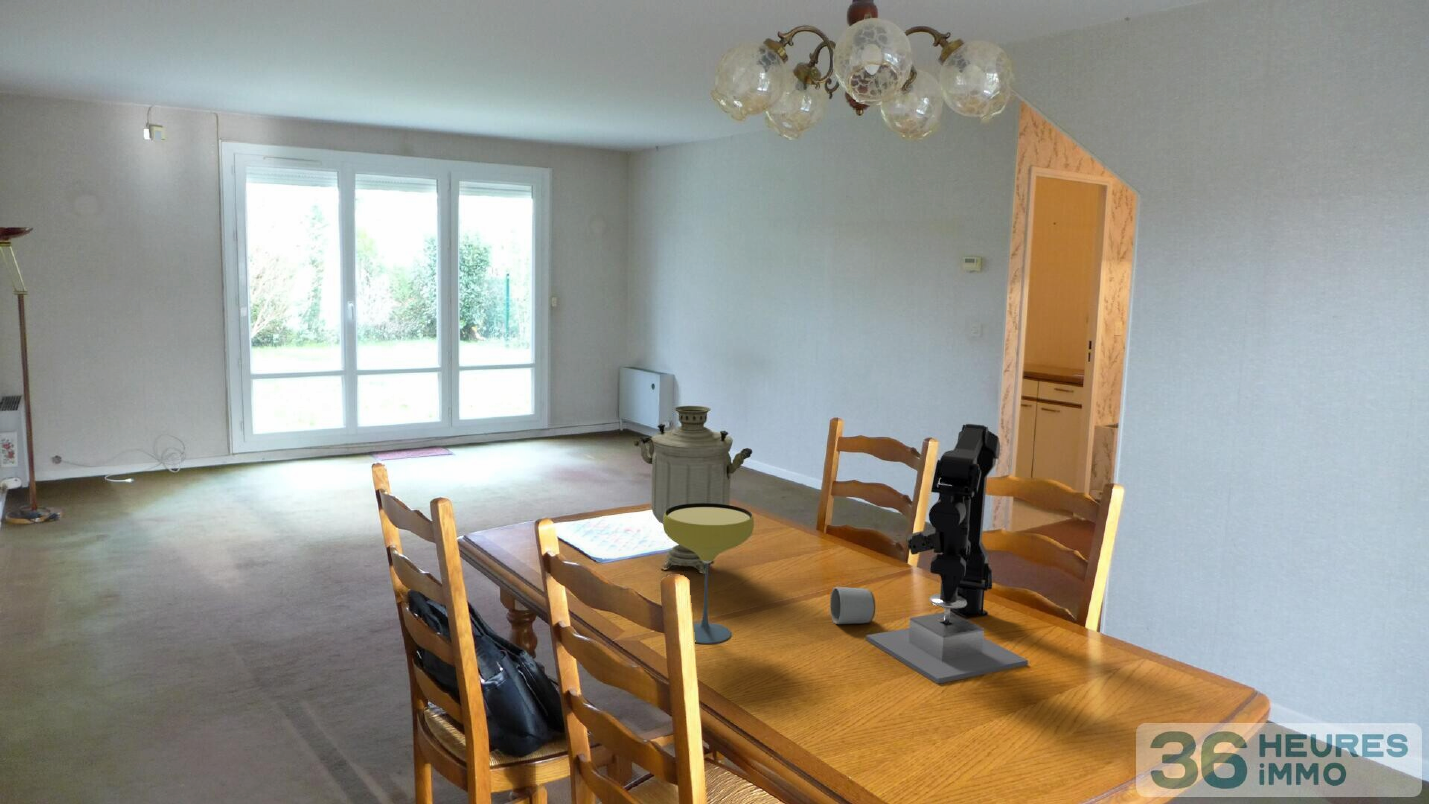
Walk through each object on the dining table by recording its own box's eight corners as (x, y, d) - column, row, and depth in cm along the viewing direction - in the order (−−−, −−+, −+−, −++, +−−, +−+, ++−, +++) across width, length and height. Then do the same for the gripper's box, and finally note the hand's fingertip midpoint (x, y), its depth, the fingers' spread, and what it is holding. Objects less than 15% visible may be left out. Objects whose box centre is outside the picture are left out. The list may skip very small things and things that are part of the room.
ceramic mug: (876, 628, 193) (878, 592, 192) (839, 629, 191) (841, 593, 191) (859, 610, 203) (861, 577, 202) (823, 612, 202) (825, 578, 201)
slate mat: (950, 625, 196) (951, 620, 196) (1027, 665, 176) (1028, 660, 176) (865, 640, 186) (866, 635, 186) (937, 684, 167) (937, 678, 166)
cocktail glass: (647, 623, 191) (650, 505, 188) (727, 613, 198) (731, 500, 195) (679, 656, 175) (683, 528, 171) (764, 644, 182) (769, 521, 179)
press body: (947, 634, 188) (949, 611, 187) (982, 653, 179) (984, 628, 178) (908, 641, 183) (910, 617, 183) (941, 661, 174) (943, 635, 174)
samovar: (771, 562, 236) (778, 407, 231) (717, 589, 214) (723, 419, 209) (676, 541, 252) (680, 396, 246) (616, 564, 230) (619, 405, 224)
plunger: (948, 617, 185) (951, 576, 184) (972, 629, 179) (975, 587, 178) (920, 622, 182) (923, 580, 181) (944, 634, 176) (947, 591, 175)
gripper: (916, 504, 189) (912, 578, 191) (905, 526, 171) (900, 607, 173) (972, 511, 185) (967, 585, 188) (967, 534, 168) (961, 616, 170)
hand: (948, 597), depth 180 cm, fingers closed on plunger, 3 cm apart
